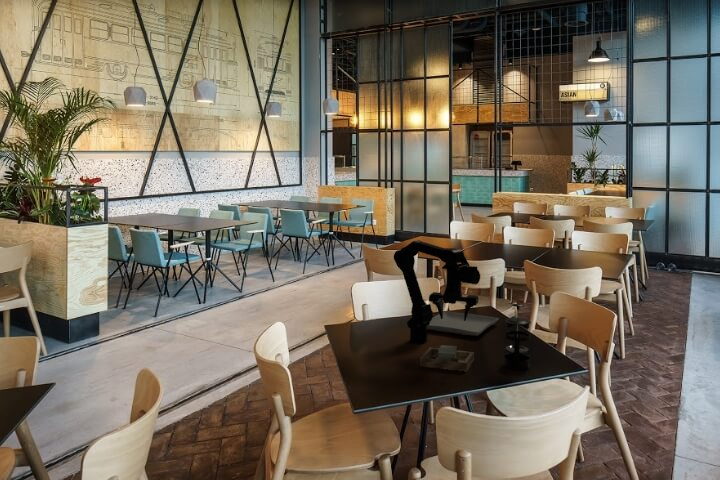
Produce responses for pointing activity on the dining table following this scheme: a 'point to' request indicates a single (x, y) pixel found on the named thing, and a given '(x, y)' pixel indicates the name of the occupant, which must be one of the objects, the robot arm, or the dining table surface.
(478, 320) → the square plate
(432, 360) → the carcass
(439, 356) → the grey faceted block
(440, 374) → the dining table surface
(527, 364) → the french press
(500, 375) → the dining table surface
